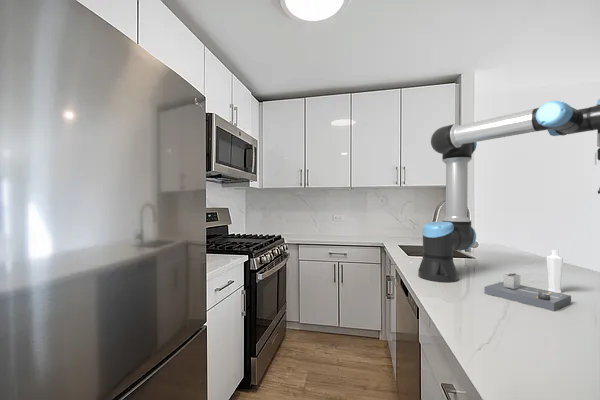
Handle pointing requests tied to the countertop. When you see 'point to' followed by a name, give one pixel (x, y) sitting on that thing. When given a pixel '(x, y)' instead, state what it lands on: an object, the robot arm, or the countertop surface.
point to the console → (529, 296)
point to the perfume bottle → (554, 271)
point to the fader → (512, 280)
